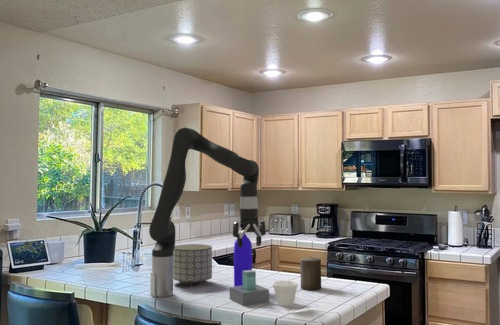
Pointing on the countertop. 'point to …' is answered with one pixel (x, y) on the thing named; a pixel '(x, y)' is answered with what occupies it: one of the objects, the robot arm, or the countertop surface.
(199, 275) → the planter
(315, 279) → the pillar candle
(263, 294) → the grey socket block
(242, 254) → the bottle
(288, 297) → the cup
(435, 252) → the countertop surface
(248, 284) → the plug
